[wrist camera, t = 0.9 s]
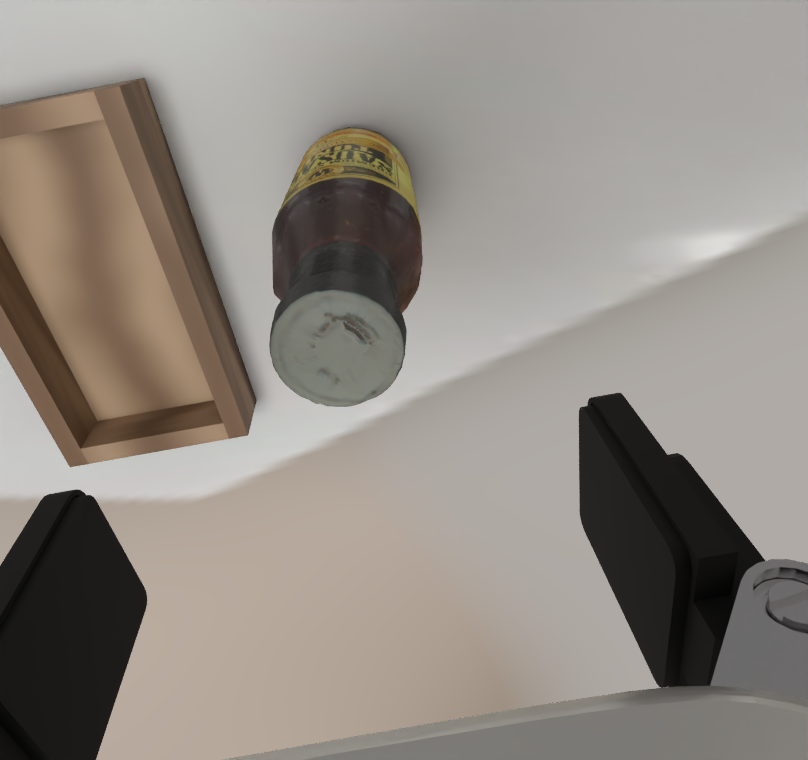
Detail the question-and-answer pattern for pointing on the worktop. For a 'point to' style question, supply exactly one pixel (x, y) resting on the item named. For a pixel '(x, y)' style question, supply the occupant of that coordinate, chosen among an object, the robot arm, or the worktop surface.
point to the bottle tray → (110, 282)
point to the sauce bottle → (345, 269)
